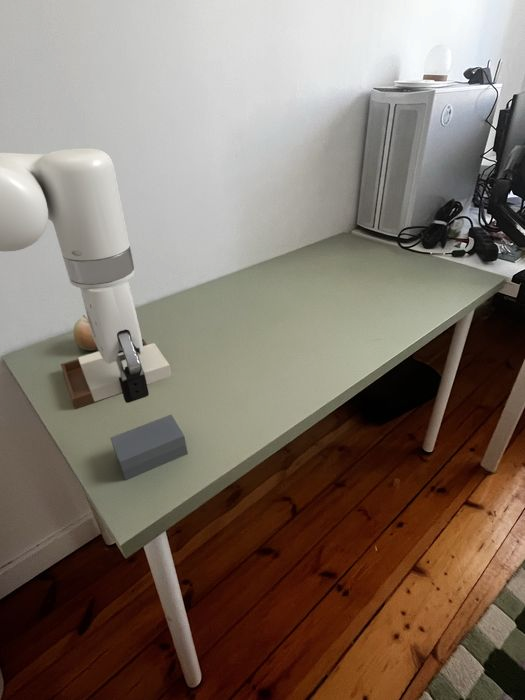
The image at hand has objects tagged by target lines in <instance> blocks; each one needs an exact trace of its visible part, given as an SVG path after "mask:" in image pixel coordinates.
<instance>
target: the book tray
mask: <svg viewBox="0 0 525 700" xmlns="http://www.w3.org/2000/svg"><path fill="white" fill-rule="evenodd" d="M142 344H143V346H146V345H148V343H147V342H146V341H145V339H144V338H142ZM60 367H61V370H62V373H63V376H64V379H65V383H66V385H67V389H68V392H69V395H70V398H71V401H72V404H73V407H74V409H75V410H77V409H81V408H84V407H86V406H89V405H92V404H95V403H97V402H100V401H103V400H105V399H108V398H111V397H114V396H117V395H118V394H116V395H113V396H110V397H107V398H104V399H101V400H98V401H94V399H93V396H92V394H91V391H90V390H89V387H88V384H87V382H86V379H85V377H84V374H83V371H82V368H81V365H80V362H79V359H78V358H76V359H73V360H69V361H66V362H63V363H60Z"/></svg>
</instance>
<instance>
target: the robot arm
mask: <svg viewBox="0 0 525 700" xmlns="http://www.w3.org/2000/svg"><path fill="white" fill-rule="evenodd" d="M49 221H50V222H51V223H52V225H53V227H54V228H53V229H54V232H55V234H56V239H57V241H58V244H59V249H60V252H61V255H62V258H63V261H64V266H65V268H66V272H67V275H68V279H69V283H70V284H71V285H72V286H73V287H76V288H80V293H81V298H82V301H83V305H84V309H85V313H86V317H88V321H89V326H90V330H91V334H92V337H93V339H94V341H95V343H96V346H97V348H98V351H99V352H100V354H101V356H102V358H103V360H104V361H105V362H106V363H108V364H111V362H115V361H116V363H117V366H118V369H119V372H120V376H121V377H119V381H120V385H121V389H122V393H121V394H122V396H123V400H124V402H125V404H130V403H133V402H135V401H139V400H141V399H144V398H147V397H148V396H149V395H150V392H149V387H148V384H147V383H146V378H145V374H144V371H143V368H142V365H141V362H140V359H139V355H140V354H141V353H142V352H143V344H142V339H143V338H142V333H141V329H140V324H139V320H138V315H137V310H136V306H135V302H134V296H133V295H132V289H131V286H130V282H129V280H130V279H132V278H133V277H134V276H135V274H136V269H135V264H134V260H133V254H132V249H131V245H130V239H129V234H128V229H127V224H126V220H125V214H124V209H123V204H122V199H121V194H120V189H119V184H118V179H117V173H116V170H115V165H114V162H113V160H112V158H111V157H110V155H109V154H108V153H106V152H105V151H104V150H101V149H96V148H89V147H87V148H84V147H83V148H82V147H81V148H79V147H78V148H68V149H66V148H65V149H60V150H55V151H51V152H48V153H18V152H16V153H15V152H0V252H3V253H4V252H6V253H7V252H16V251H21V250H25V249H26V248H28V247H31V246H32V245H34V244H35V243H36V242H38V241H39V239H40V238H42V236H43V235H44V233H45V231H46V229H47V226H48V222H49ZM122 352H123V355H120V356H118V353H122ZM138 354H139V355H138ZM123 360H126V362H127V367H125V369H124V368H123V365H122V361H123Z"/></svg>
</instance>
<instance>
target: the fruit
mask: <svg viewBox="0 0 525 700" xmlns="http://www.w3.org/2000/svg"><path fill="white" fill-rule="evenodd" d="M73 339H74V341H75V343H76V344H77V346H78V347H79V348H81V349H83V350H85V351H97V350H98V348H97V346H96V343H95V341H94V339H93V337H92V334H91V330H90V326H89V321H88V317H87V316H85V314H83V315H82V317H81V318H79V319H78V320H77V321H76V322H75V324H74V326H73ZM98 351H99V350H98Z"/></svg>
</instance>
